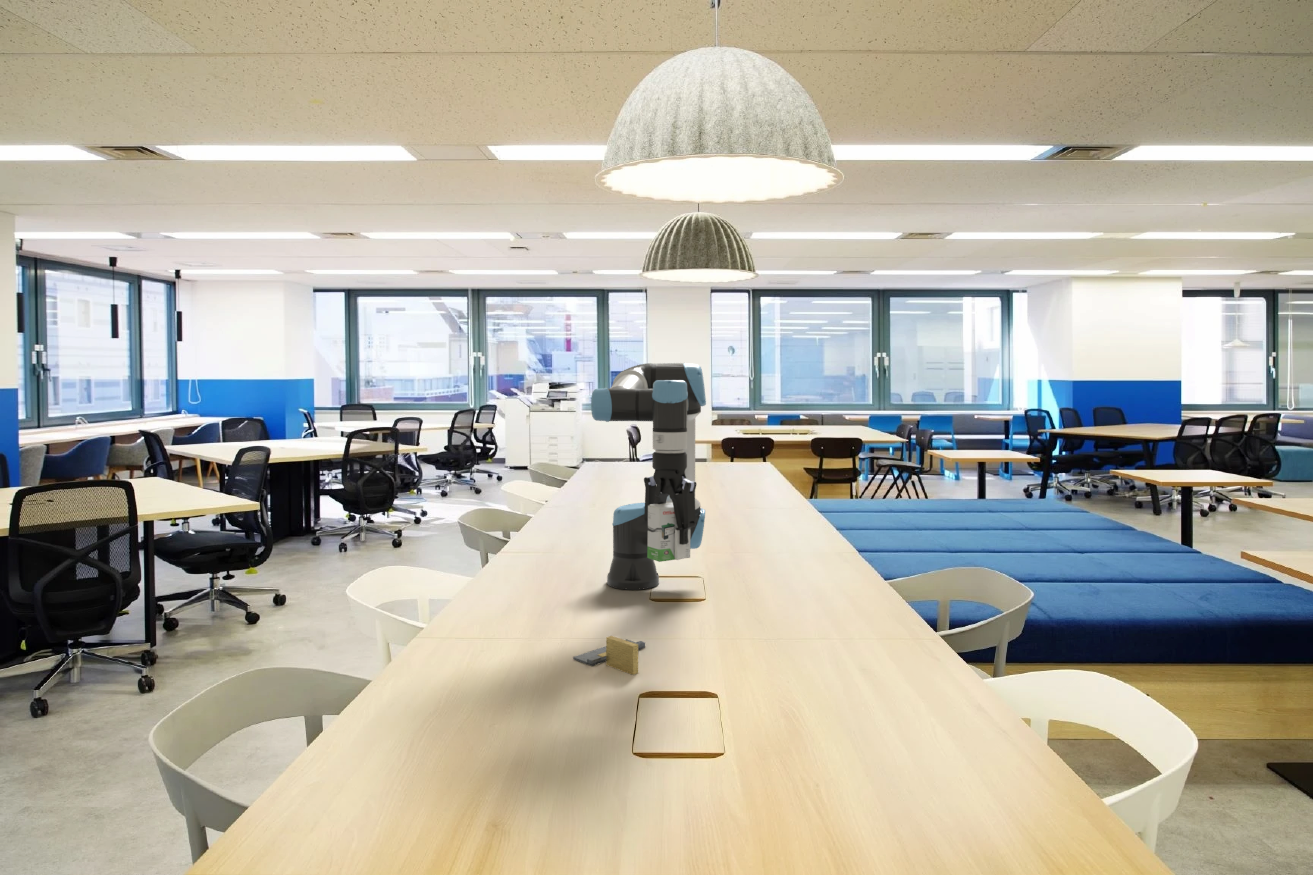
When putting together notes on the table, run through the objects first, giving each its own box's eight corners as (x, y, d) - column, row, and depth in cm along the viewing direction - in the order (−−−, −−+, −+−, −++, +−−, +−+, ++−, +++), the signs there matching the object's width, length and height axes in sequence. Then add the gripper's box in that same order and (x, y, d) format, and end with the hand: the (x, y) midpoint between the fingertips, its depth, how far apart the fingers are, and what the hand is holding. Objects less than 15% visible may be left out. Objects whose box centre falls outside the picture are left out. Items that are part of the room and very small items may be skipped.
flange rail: (573, 659, 172) (572, 631, 172) (626, 641, 184) (626, 615, 183) (624, 678, 162) (624, 649, 161) (677, 658, 173) (677, 631, 173)
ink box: (658, 562, 171) (659, 507, 171) (646, 558, 176) (646, 504, 175) (691, 557, 176) (692, 504, 175) (678, 553, 180) (678, 501, 179)
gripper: (627, 449, 178) (627, 552, 180) (690, 455, 165) (690, 566, 167) (650, 447, 183) (650, 547, 185) (714, 452, 170) (713, 560, 172)
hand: (669, 556), depth 176 cm, fingers closed on ink box, 6 cm apart
